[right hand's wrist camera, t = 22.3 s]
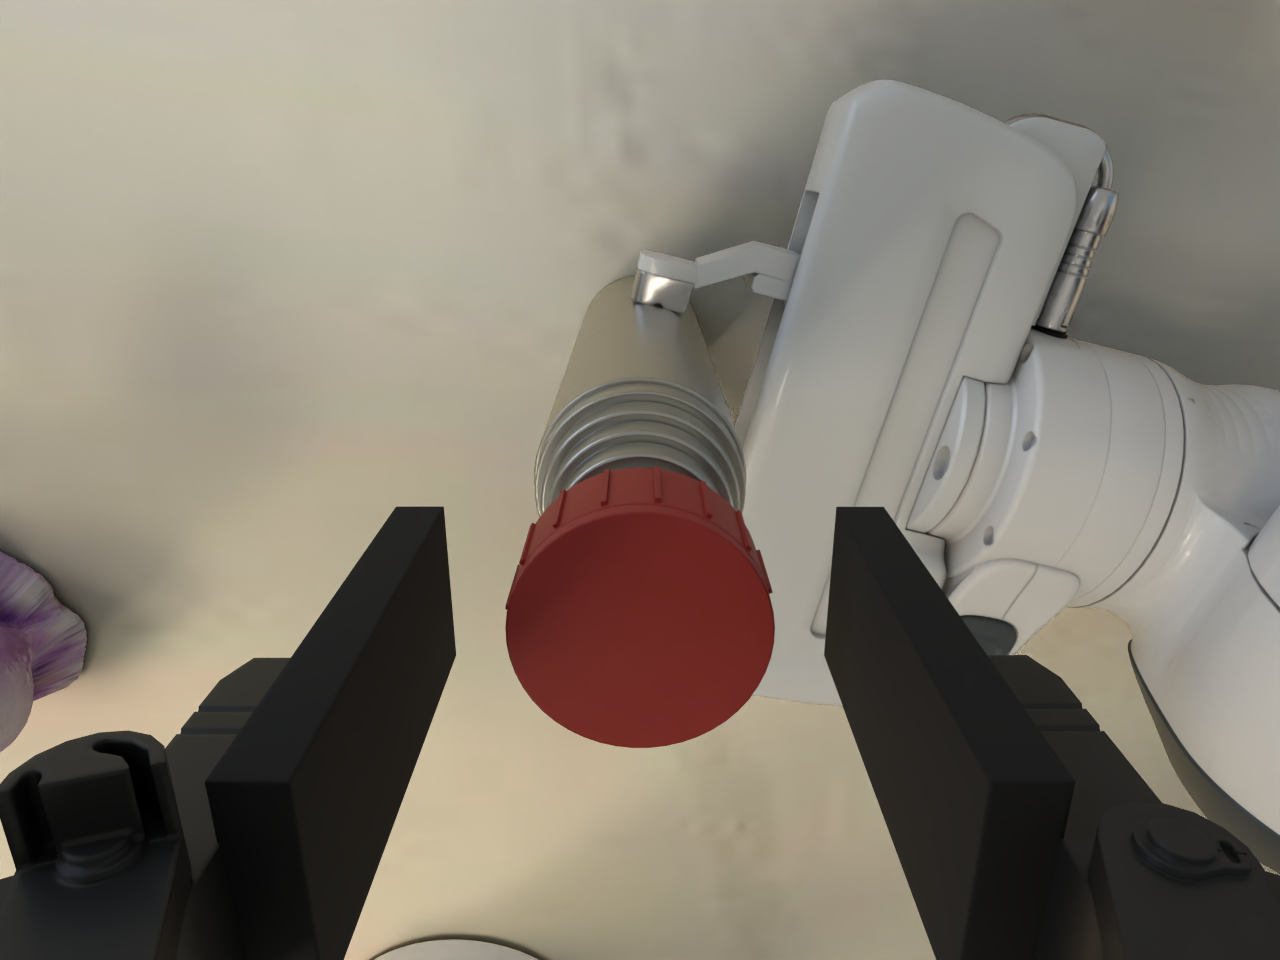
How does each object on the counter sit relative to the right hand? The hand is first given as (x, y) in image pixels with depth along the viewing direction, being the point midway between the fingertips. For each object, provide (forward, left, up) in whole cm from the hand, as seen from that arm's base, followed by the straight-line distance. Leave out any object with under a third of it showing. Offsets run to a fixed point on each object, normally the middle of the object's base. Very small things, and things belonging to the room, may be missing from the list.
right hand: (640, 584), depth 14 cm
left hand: (-1, +1, -15) cm, 15 cm away
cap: (0, 0, +1) cm, 1 cm away
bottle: (0, 0, -21) cm, 21 cm away
